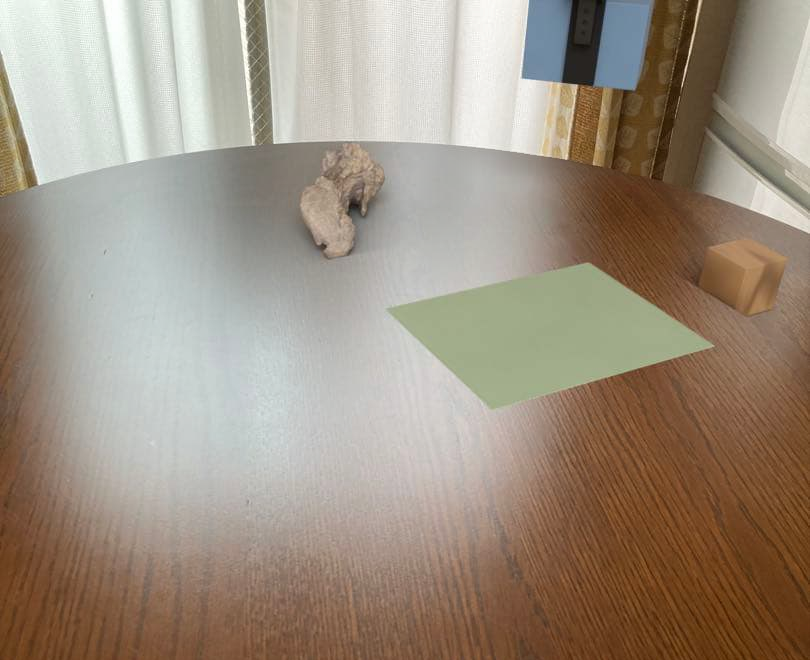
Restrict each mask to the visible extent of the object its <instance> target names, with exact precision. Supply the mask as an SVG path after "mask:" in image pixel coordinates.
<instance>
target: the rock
mask: <svg viewBox="0 0 810 660" xmlns="http://www.w3.org/2000/svg"><path fill="white" fill-rule="evenodd" d="M340 149H341V150H340ZM340 149H335V150H334V149H329V150H325V152H324V155H325V156H324V157H321V159H320V161H321V162H320V173H321V176H318V177H317V178H316V179H315V182H314V184H313V185H311V186H304V190H303V191H302V192H301V197H300V203H299V210H300V213H301V217H302V219H303V221H304V223H305V225H306V226H307V227H308V229H309V231H310V232H311V235H312V236H313V239H314V241H315V243H316V245H317V246H321V245H325V246H326V248H325V249H324V250H323V254H325V255H326V257H327V258H328V259H330V260H334V259H339V258H344V257H347V256H348V254H349V253H350V251H351V250H352V249H353V247H354V246H355V237H356V226H355V225H354V224H353V219H352V217H351V216H349V215H348V212H349V207H350V204H353V203H354V204H356V205H358V206H359V207H358V210H359V212H360V216H361V217H364V216H365V214H366V213H367V209H368V202H370V201H371V200H372V198H373V197H374V196H375V195H376V194H377V193H378V192H379V191H380V190H381V188H382V186H383V185H384V183H385V180H386V176H385V173H384V168H383V166H381V164H380V163H379V162H377V161H375V160H374V159H372V158H371V153H370V152H369V151H367V150H364V149H362V147H361V143H359V142H352V141H350V142H349V141H344V142H343V143H342V145H341V148H340Z"/></svg>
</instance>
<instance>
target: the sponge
mask: <svg viewBox="0 0 810 660" xmlns="http://www.w3.org/2000/svg"><path fill="white" fill-rule="evenodd" d="M655 1H656V0H607V1H606V7H605V14H604V20H603V27H602V34H601V40H600V47H599V54H598V61H597V67H596V74H595V81H594V85H593V86H592V87H598V88H606V89H607V88H608V89H614V90H615V89H616V90H625V91H636V89H637V86H638V84H639V81H640V78H641V75H642V72H643V69H644V68H643V67H644V62H645V57H646V51H647V44H648V41H649V40H648V39H649V33H650V27H651V23H652V17H653V12H654V6H655ZM571 8H572V0H528V7H527V18H526V28H525V38H524V46H523V49H524V50H523V58H522V67H521V79H522V80H530V81H531V80H532V81H539V82H540V81H541V82H550V83H559V84H563V83H562V78H563V71H564V63H565V55H566V47H567V39H568V32H569V24H570V16H571Z"/></svg>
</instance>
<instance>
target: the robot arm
mask: <svg viewBox="0 0 810 660" xmlns="http://www.w3.org/2000/svg"><path fill="white" fill-rule="evenodd" d="M606 1H607V0H572V8H571V16H570V24H569V32H568V39H567V47H566V55H565V63H564V71H563V78H562V83H561V84H567V85H576V86H587V87H594V86H593V85H594V81H595V74H596V67H597V61H598V54H599V47H600V40H601V34H602V27H603V20H604V14H605V7H606Z"/></svg>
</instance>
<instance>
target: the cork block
mask: <svg viewBox="0 0 810 660" xmlns="http://www.w3.org/2000/svg"><path fill="white" fill-rule="evenodd" d="M788 260H789V258H788V257H786V256H784V255H782V254H780V253H779V252H777V251H775V250H773V249H771V248H769V247H767V246H765V245H764V244H762V243H760V242H758V241H756V240H754V239H752V238H750V237H745V238H741V239H736V240H732V241H728V242H724V243H719V244H715V245H710V246H708V247H707V249H706V253H705V257H704V262H703V265H702V268H701V272H700V276H699V279H698V280H699V281H698V284H697V288H698V289H700V290H702V291H703V292H705V293H706V294H708V295H709V296H711V297H713V298H714V299H716V300H718V301H719V302H720V303H722V304H724V305H726V306H728V307H729V308H731V309H732V310H734V311H736V312H738V313H739V314H741V315H742V316H744V317H749V316H752V315H757V314H760V313H764V312H767V311H771V310H773V308H774V305H775V300H776V298H777V294H778V292H779V290H780V289H779V288H780V285H781V282H782V279H783V275H784V272H785V270H786V266H787V263H788Z"/></svg>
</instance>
